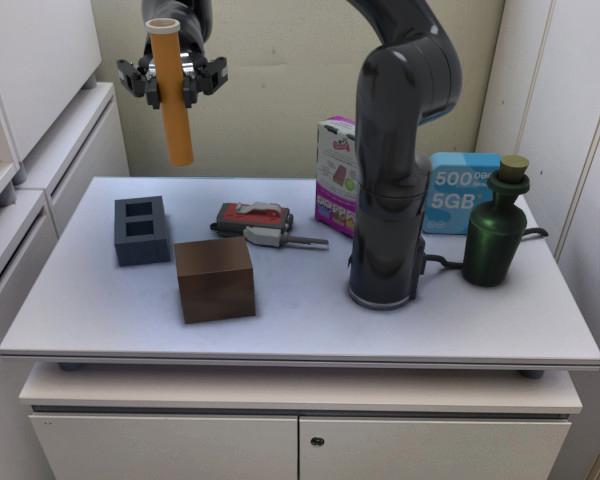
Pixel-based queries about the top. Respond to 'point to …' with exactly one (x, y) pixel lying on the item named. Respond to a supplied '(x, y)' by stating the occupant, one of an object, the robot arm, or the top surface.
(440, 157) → the data package
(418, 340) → the top surface
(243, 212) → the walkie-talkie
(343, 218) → the candy bar box
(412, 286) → the robot arm
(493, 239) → the potion bottle
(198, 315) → the stand
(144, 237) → the rack
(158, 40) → the test tube
